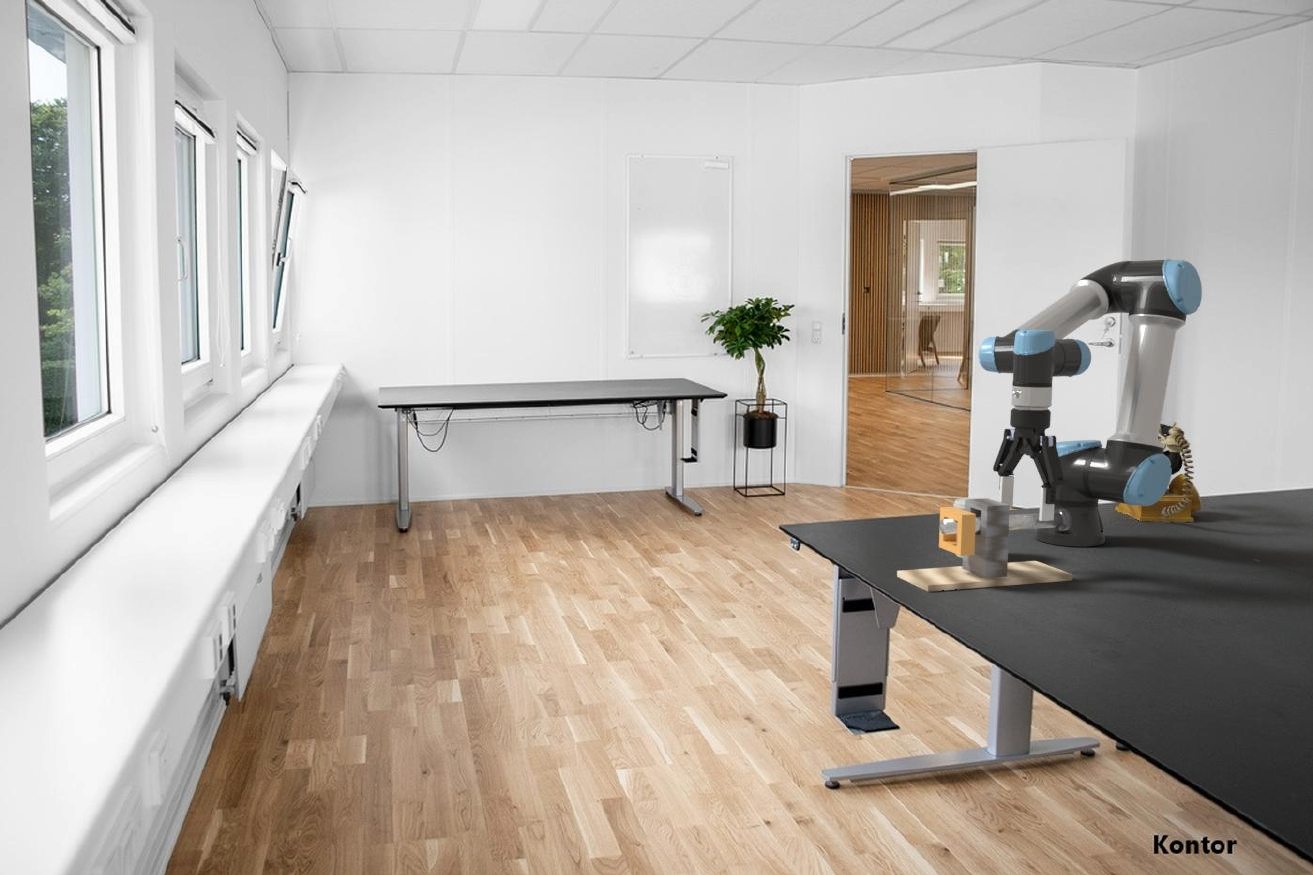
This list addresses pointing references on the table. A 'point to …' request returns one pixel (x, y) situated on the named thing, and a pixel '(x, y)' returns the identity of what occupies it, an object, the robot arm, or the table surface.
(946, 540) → the frame
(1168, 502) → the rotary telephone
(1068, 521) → the shaft
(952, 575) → the bearing fixture
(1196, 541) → the table surface
